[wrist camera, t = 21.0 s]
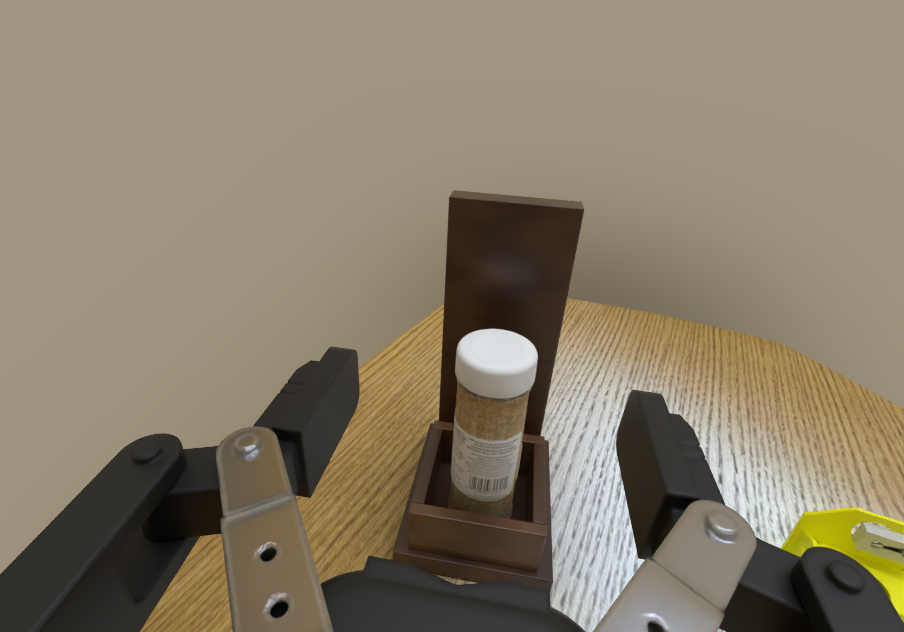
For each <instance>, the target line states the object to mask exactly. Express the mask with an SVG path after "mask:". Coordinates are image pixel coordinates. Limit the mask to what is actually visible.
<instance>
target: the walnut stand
mask: <svg viewBox="0 0 904 632" xmlns="http://www.w3.org/2000/svg"><path fill="white" fill-rule="evenodd" d="M583 213H584V208H583V205H582V202H575V201H564V200H554V199H543V198H531V197H520V196H509V195H497V194H487V193H476V192H465V191H453V192H452V194H451V195H450V197H449V214H448V235H447V257H446V277H445V278H446V279H445V300H444V320H443V342H442V363H441V384H440V406H439V421H436V420H435V421H434V424H433V423H431V424H430V427H429V431H428V434H427V437H426V441H425V444H424V448H423V451H422V454H421V458H420V461H419V465H418V468H417V471H416V475H415V478H414V482H413V485H412V488H411V492H410V495H409V499H408V502H407V505H406V509H405V512H404V516H403V519H402V523H401V526H400V529H399V533H398V536H397V540H396V543H395V546H394V550H393V561H399V562H404V563H409V564H413V565H415V566H417V567H419V568H421V569H423V570H425V571H427V572H429V573H434V574H439V575H444V576H449V577H455V578H460V579H465V580H471V581H476V582H481V583H492V582H508V583H513V584H519V585H524V586H529V587H534V588H539V589H545V590H551V587H552V583H553V568H552V537H551V505H550V474H549V443H548V441H546V440H544V437H543V436H540V435H541V430H542V425H543V420H544V414H545V409H546V404H547V399H548V394H549V389H550V383H551V378H552V373H553V368H554V363H555V358H556V353H557V347H558V342H559V337H560V332H561V327H562V322H563V316H564V311H565V306H566V301H567V296H568V291H569V285H570V280H571V275H572V270H573V265H574V259H575V254H576V249H577V244H578V239H579V234H580V229H581V223H582V218H583ZM483 329H502V330H507V331H511V332H514V333H517V334H519V335H521V336H523V337H525V338H526V339H528V340H529V341H530V342H531V343H532V344H533V345H534V347H535V348H536V350H537V354H538V360H537V369H536V375H535V381H534V383H533V386H532V388H531V391H530V392H529V398H528V404H527V413H526V418H525V425H524V432H523V438H522V451H521V457H520V464H519V470H518V475H517V479H516V481H515V487H514V493H513V499H512V504H513V508H512V515H511V518H510V519H508V518H502V517H496V516H490V515H484V514H478V513H473V512H467V511H461V510H455V509H449V508H448V498H449V496H450V491H451V462H452V447H453V433H454V416H455V409H456V401H457V398H456V396H457V385H458V383H457V376H456V373H455V365H456V352H457V346H458V343H459V342H460V341H461V339H462V338H463V337H464V336H466V335H467V334H469V333H472V332H474V331H478V330H483Z"/></svg>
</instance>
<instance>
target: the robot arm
mask: <svg viewBox="0 0 904 632" xmlns="http://www.w3.org/2000/svg"><path fill="white" fill-rule="evenodd" d="M358 400H359V373H358V356H357V352H356V350H352V349H345V348H338V347H330V348H329V349H328V350H327V352H326V353H325V354H324V356H323V357H322V359H321V360H320V361H319V362H318V361H309V362H308V363H307V364H305V365H303V366H302V367H300V368H298V369H297V370H296V371H295V373H294V374H293V375H292V376H291V378H290V379H289V380H288V383H287V384H285V386H284V387H283V388H282V390H281V392H280V393H278V395H277V396H276V397H275V398H274V400H273V401H272V402H271V404H270V405H269V406H268V408H267V409H266V410H265V411H264V413H263V414H262V415H261V417H260V418H259V419H258V420H257V422H256V423H255V424H254V426H253V427H248V428H243V429H241V430H238V431H235V432H233V433H232V434H230V435H228V436H227V437H226V438H225V439H224V440H223V441H222V442H221V443H220V444H219V446H214V447H204V448H193V449H183V447H182V444H181V442H180V440H179V439H178V438H177V437H175V436H173V435H170V434H154V435H149V436H145V437H143V438H140V439H138V440H136V441H134V442H132V443H130V444H129V445H127V446H126V447H124V448H123V449H122V450H121V451H120V452H119V453H118V454H117V455H116V456H115V457H114V458H113V459H112V460H111V461H110V462H109V463H108V464H107V465H106V466H105V467H104V468H103V469H102V470H101V472H100V473H99V474H98V475H97V476H96V477H95V478H94V479H93V480H92V481H91V482H90V483H89V484H88V485H87V486H86V487H85V488H84V489H83V490H82V491H81V492H80V493H79V494H78V495H77V496H76V497H75V498H74V499H73V500H72V501H71V502H70V504H68V505H67V506H66V507H65V508H64V510H63V511H62V512H61V513H60V514H59V515H58V516H57V517H56V518H55V519H54V520H53V521H52V522H51V523H50V524H49V525H48V526H47V527H46V528H45V529H44V530H43V531H42V532H41V533H40V534H39V535H38V536H37V537H36V538H35V539H34V540H33V541H32V542H31V543H30V545H29V546H28V547H27V548H26V549H25V550H24V551H23V552H22V553H21V554H20V555H19V556H18V557H17V558H16V559H15V560H14V561H13V562H12V563H11V564H10V565H9V566H8V567H7V568H6V569H5V570H4V571H3V572H2V573H1V574H0V632H140V630H141V629H142V627H143V626H144V624H145V622H146V621H147V619H148V618H149V616H150V614H151V613H152V611H153V610H154V608H155V607H156V605H157V603H158V602H159V600H160V599H161V597H162V596H163V594H164V592H165V591H166V589H167V588H168V586H169V585H170V583H171V581H172V580H173V578H174V577H175V575H176V573H177V572H178V570H179V569H180V567H181V566H182V564H183V562H184V561H185V559H186V558H187V556H188V555H189V553H190V551H191V550H192V548H193V547H194V545H195V543H196V542H197V540H198V539H199V537H200V536H205V535H213V534H221V533H222V540H223V549H224V558H225V567H226V576H227V585H228V593H229V602H230V611H231V620H232V629H233V632H585V631H584V630H583V629H582V628H581V627H580V626H579V625H578V624H577V623H575V622H574V621H573V620H572V619H570V618H569V617H568V616H566V615H564V614H563V613H561V612H560V611H558V610H556V609H554V608H552V607H550V590H545V589H539V588H534V587H529V586H524V585H519V584H513V583H508V582H492V583H478V584H464V585H456V584H452V583H450V582H448V581H446V580H444V579H442V578H440V577H437V576H435V575H433V574H431V573H429V572H427V571H425V570H423V569H421V568H419V567H417V566H415V565H413V564H409V563H404V562H399V561H393V560H388V559H383V558H378V557H372V556H368V559H367V562H366V565H365V568H364V570H361V571H354V572H349V573H345V574H342V575H339V576H336V577H333V578H331V579H329V580H327V581H325V582H323V583H321V584H320V581H319V577H318V574H317V570H316V567H315V563H314V560H313V556H312V553H311V549H310V546H309V542H308V539H307V535H306V531H305V528H304V524H303V521H302V517H301V514H300V510H299V507H298V503H297V500H296V495H297V496H303V497H308V498H311V496H312V494H313V492H314V490H315V488H316V486H317V484H318V482H319V480H320V478H321V476H322V474H323V473H324V471H325V469H326V467H327V465H328V463H329V461H330V459H331V457H332V455H333V453H334V451H335V449H336V447H337V445H338V443H339V441H340V439H341V438H342V436H343V434H344V432H345V430H346V428H347V426H348V424H349V422H350V420H351V418H352V416H353V414H354V412H355V410H356V408H357V404H358ZM699 445H700V444H699V442H698V439H697V437H696V434H695V432H694V430H693V428H692V427H691V426H690V425H689V424H688V423H687V422H686V421H685V420H684V419H683V418H682V417H681V416H680V415H677V414H671V413H669V411H668V408H667V406H666V403H665V400H664V398H663V396H662V394H659V393H652V392H645V391H638V390H632V391H631V393H630V395H629V398H628V401H627V404H626V407H625V410H624V413H623V416H622V419H621V423H620V426H619V429H618V433H617V440H616V449H617V456H618V461H619V466H620V471H621V475H622V480H623V485H624V490H625V495H626V500H627V505H628V510H629V514H630V519H631V524H632V529H633V534H634V539H635V544H636V549H637V554H638V558H639V559H645V561H644V562H643V563H642V565H641V566H640V567H639V569H638V570H637V572H636V573H635V574H634V576H633V577H632V578H631V580H630V581H629V583H628V584H627V585H626V587H625V588H624V590H623V591H622V592H621V594H620V595H619V596H618V598H617V599H616V601H615V602H614V603H613V605H612V606H611V607H610V609H609V610H608V612H607V613H606V614H605V616H604V617H603V618H602V620H601V621H600V623H599V624H598V625H597V627H596V628H595V629H594V631H593V632H717V630H718V628H720V629H722V630H724V631H726V632H904V622H903V621H902V619H901V617H900V616H899V614H898V612H897V611H896V609H895V607H894V606H893V604H892V602H891V600H890V599H889V597H888V595H887V594H886V592H885V590H884V589H883V587H882V586H881V584H880V583H879V581H878V580H877V579H876V578H875V577H874V576H873V575H872V574H871V573H870V572H869V571H868V570H867V569H866V568H865V567H864V566H862V565H861V564H860V563H858V562H857V561H856V560H854V559H852V558H851V557H849V556H847V555H845V554H843V553H841V552H839V551H837V550H834V549H831V548H827V547H821V546H820V547H810V548H809V549H807V550H806V551H805V552H804V553H803V554H802V556H801V557H799V556H797V555H795V554H792V553H790V552H787V551H785V550H783V549H780V548H778V547H776V546H773V545H771V544H768V543H766V542H764V541H762V540H760V539H758V538H757V537H756V536H755V534H754V531H753V530H752V528H751V526H750V525H749V524H748V523H747V521H746V520H745V519H744V518H743V517H742V516H740V515H739V514H738V513H737V512H735V511H734V510H732V509H731V508H729V507H727V506H726V505H725V503H724V500H723V498H722V496H721V493H720V491H719V489H718V486H717V484H716V482H715V479H714V477H713V475H712V472H711V470H710V467H709V465H708V463H707V460H705V456H704V453H703V451H702V449H701V447H699Z"/></svg>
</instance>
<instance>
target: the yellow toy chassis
mask: <svg viewBox="0 0 904 632" xmlns="http://www.w3.org/2000/svg"><path fill="white" fill-rule="evenodd" d="M867 522H875V523H880V524H882V525H885V526H887V527H888V528H890V529H891V530H888V529H885V528H882V527H879V526H876V525H873V524H870V523H867ZM859 523H861V525H860V526H859V527H858V529H857V530H856V531H855V533H854V534H853V535H852V534H851V530H852V528H853V527H854V526H855V525H857V524H859ZM873 542H878V543H873ZM820 546H821V547H827V548H831V549H834V550H837V551H839V552H841V553H843V554H845V555H847V556H849V557H851V558H852V559H854V560H856V561H857V562H858V563H860V564H861V565H862V566H864V567H865V568H866V569H867V570H868V571H869V572H870V573H871V574H872V575H873V576H874V577H875V578H876V579H877V580H878V581H879V583H880V584H881V586H882V587H883V589H884V590H885V592H886V594H887V595H888V597H889V599H890V600H891V602H892V604H893V606H894V607H895V609H896V611H897V612H898V614H899V616H900V617H901V619H902V621H903V622H904V522H901V521H897V520H894V519H891V518H888V517H885V516H881V515H878V514H875V513H872V512H869V511H865V510H862V509H859V508H856V507H852V508H842V509H833V510H823V511H814V512H804V513H803V515H802V516H801V518H800V519H799V521H798V522H797V524H796V525H795V527H794V529H793V530H792V532H791V533H790V535H789V536H788V538H787V539H786V541H785V543H784V544H783V546H782V547H781V549H783V550H785V551H787V552H790V553H792V554H795V555H797V556H799V557H801V556H802V554H803V553H804V552H805V551H806V550H807V549H809V548H810V547H820Z"/></svg>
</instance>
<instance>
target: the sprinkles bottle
mask: <svg viewBox="0 0 904 632" xmlns="http://www.w3.org/2000/svg"><path fill="white" fill-rule="evenodd" d="M537 360H538V354H537V350H536V348H535V347H534V345H533V344H532V343H531V342H530V341H529V340H528V339H526V338H525V337H523V336H521V335H519V334H517V333H514V332H511V331H507V330H502V329H483V330H478V331H474V332H472V333H469V334H467V335H466V336H464V337H463V338H462V339H461V341H460V342H459V343H458V346H457V352H456V365H455V373H456V376H457V383H458V385H457V396H456V398H457V401H456V409H455V416H454V433H453V447H452V462H451V491H450V496H449V498H448V508H449V509H455V510H461V511H467V512H473V513H478V514H484V515H490V516H496V517H502V518H508V519H510V518H511V515H512V508H513V504H512V499H513V493H514V487H515V481H516V479H517V475H518V470H519V464H520V457H521V451H522V438H523V432H524V425H525V418H526V413H527V404H528V398H529V392H530V391H531V388H532V386H533V383H534V381H535V375H536V369H537Z"/></svg>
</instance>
